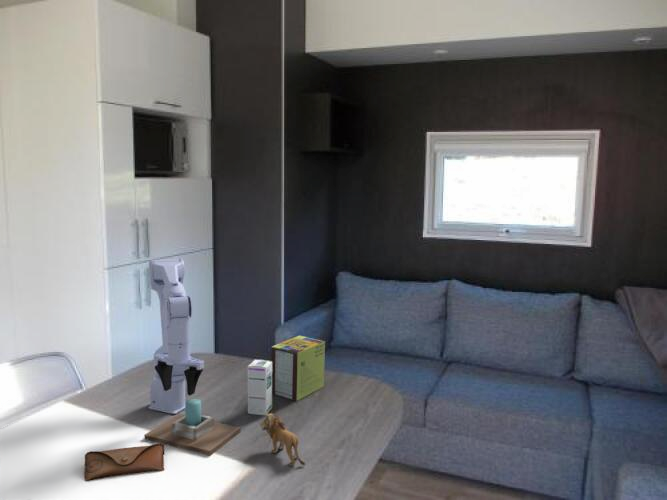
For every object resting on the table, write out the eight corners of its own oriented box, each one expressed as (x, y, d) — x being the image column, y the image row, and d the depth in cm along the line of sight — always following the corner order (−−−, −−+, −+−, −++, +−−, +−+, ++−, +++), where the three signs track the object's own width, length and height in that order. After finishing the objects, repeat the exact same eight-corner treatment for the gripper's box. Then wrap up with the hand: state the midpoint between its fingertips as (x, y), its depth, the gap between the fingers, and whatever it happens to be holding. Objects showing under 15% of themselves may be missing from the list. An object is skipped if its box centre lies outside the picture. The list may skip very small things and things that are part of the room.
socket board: (144, 439, 145) (144, 423, 145) (178, 417, 158) (178, 403, 157) (210, 455, 138) (210, 439, 137) (240, 432, 151) (240, 417, 150)
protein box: (324, 386, 184) (325, 340, 182) (296, 402, 171) (297, 352, 169) (298, 379, 190) (299, 334, 188) (269, 394, 177) (270, 346, 175)
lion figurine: (257, 448, 142) (257, 414, 141) (273, 441, 146) (273, 408, 145) (296, 470, 132) (297, 434, 131) (313, 462, 136) (313, 427, 135)
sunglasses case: (81, 482, 124) (82, 451, 127) (84, 483, 130) (84, 453, 133) (166, 470, 130) (165, 440, 133) (165, 471, 137) (164, 442, 139)
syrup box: (266, 416, 161) (267, 367, 159) (246, 413, 162) (247, 365, 160) (272, 408, 166) (273, 360, 164) (253, 405, 168) (254, 358, 166)
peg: (182, 432, 147) (182, 403, 146) (192, 426, 150) (191, 397, 149) (194, 435, 145) (194, 406, 144) (204, 429, 149) (204, 400, 148)
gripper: (146, 342, 147) (147, 392, 149) (192, 349, 142) (192, 401, 144) (163, 335, 154) (164, 383, 155) (208, 342, 148) (209, 392, 150)
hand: (179, 391), depth 150 cm, fingers open, 7 cm apart
